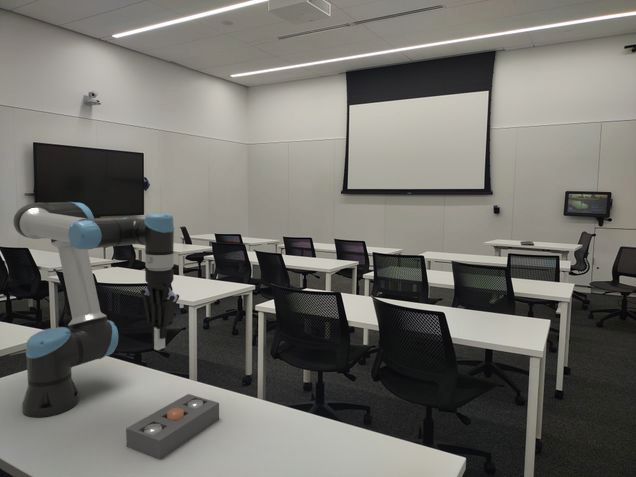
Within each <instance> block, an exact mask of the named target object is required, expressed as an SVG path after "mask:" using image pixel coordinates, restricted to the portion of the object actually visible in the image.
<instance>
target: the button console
mask: <svg viewBox="0 0 636 477" xmlns="http://www.w3.org/2000/svg"><path fill="white" fill-rule="evenodd" d="M191 400H202V401H203V405H201V406H200V407H198V408H197V409H195V408H192V407H188V402H189V401H191ZM173 408H182V409H183V410H184V416H183V417H182V418H180V419H179V420H177V421H173V420H170V419H167V411H168V410H170V409H173ZM218 420H220V402H219V401H218V402H217V401H214V400H210V399H208V398H203V397H201V396H197V395H193V394H190V393H187V394H186V395H184V396H182V397H180V398H178V399H176V400H175V401H173V402H171V403H169V404H167V405H165V406H164V407H162V408H160V409H158V410H157V411H154V412H153V413H151V414H149V415H148V416H146V417H144V418H142V419H141V420H139V421H137V422H135V423H133V424H132V425H129V426H128V427H126V428H125V432H126V435H125V436H126V438H125V440H126V443H125V444H126V447H128V448H130V449H132V450H135V451H137V452H139V453H142V454H145V455H147V456H150V457H153V458H155V459H157V460H161V459H163V458H164V457H165V456H168V454H171V453H172V451H174V450H176V449H177V448H179V447H180V446H182V445H183V444H185V443H186V442H187V441H189V440H191V439H192V438H193V437H195V436H196V435H199V433H201V432H202V431H203V430H205V429H207V428H208V427H209V426H212V425H213V424H214V423H215V422H217V421H218ZM151 424H160V425H161V426H162V430H160V431H159V432H157V433H156V434H154V435H150V434H147V433H144V428H145V427H146V426H148V425H151Z"/></svg>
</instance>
